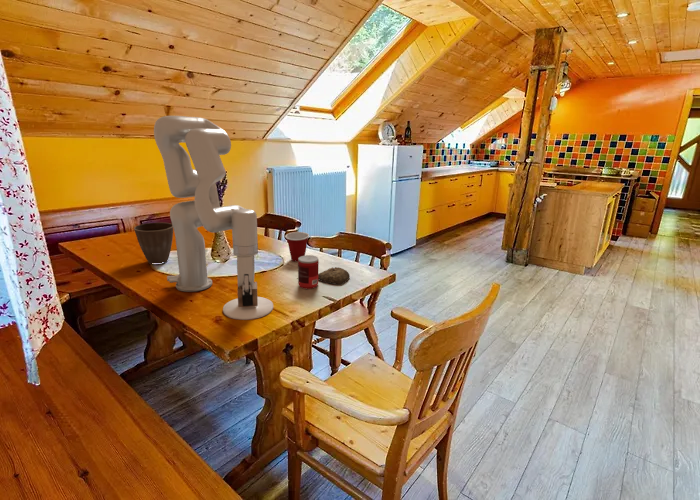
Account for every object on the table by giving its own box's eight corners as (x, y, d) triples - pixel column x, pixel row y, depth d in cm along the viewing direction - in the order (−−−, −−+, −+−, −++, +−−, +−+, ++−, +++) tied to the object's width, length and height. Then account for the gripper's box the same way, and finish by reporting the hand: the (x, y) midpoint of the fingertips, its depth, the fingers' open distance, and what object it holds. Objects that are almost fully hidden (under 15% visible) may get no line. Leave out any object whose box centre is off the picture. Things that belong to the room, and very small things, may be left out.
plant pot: (177, 265, 163) (173, 229, 158) (138, 269, 157) (132, 232, 152) (176, 255, 176) (172, 221, 171) (139, 258, 170) (135, 223, 165)
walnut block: (238, 307, 122) (237, 289, 120) (239, 299, 128) (238, 282, 126) (257, 305, 123) (256, 288, 122) (257, 298, 129) (256, 281, 127)
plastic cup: (280, 261, 173) (280, 235, 169) (293, 255, 182) (293, 230, 179) (301, 265, 169) (301, 239, 165) (313, 258, 178) (313, 233, 175)
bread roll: (338, 287, 147) (339, 275, 145) (312, 280, 153) (313, 268, 151) (355, 277, 157) (356, 266, 156) (330, 271, 163) (331, 260, 162)
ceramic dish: (221, 321, 117) (221, 319, 117) (225, 300, 132) (224, 297, 131) (274, 317, 120) (274, 315, 120) (272, 297, 135) (272, 295, 135)
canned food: (318, 281, 151) (319, 255, 148) (317, 289, 143) (318, 261, 140) (299, 281, 151) (299, 254, 147) (297, 289, 143) (297, 261, 140)
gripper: (234, 241, 127) (237, 291, 132) (231, 257, 111) (234, 313, 116) (257, 241, 129) (259, 290, 134) (258, 256, 113) (260, 312, 118)
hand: (248, 300), depth 125 cm, fingers closed on walnut block, 5 cm apart
